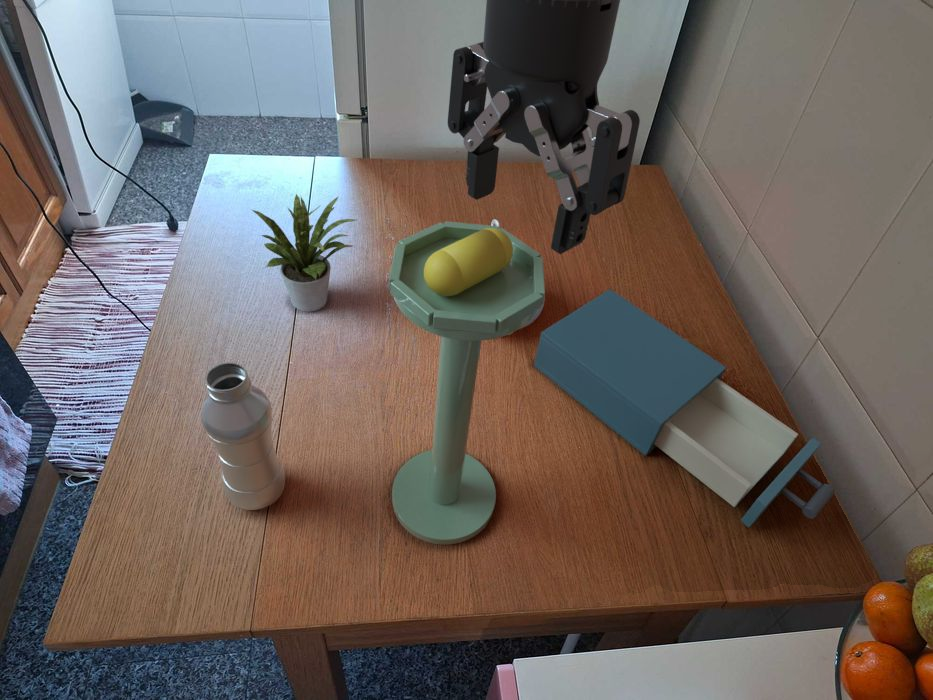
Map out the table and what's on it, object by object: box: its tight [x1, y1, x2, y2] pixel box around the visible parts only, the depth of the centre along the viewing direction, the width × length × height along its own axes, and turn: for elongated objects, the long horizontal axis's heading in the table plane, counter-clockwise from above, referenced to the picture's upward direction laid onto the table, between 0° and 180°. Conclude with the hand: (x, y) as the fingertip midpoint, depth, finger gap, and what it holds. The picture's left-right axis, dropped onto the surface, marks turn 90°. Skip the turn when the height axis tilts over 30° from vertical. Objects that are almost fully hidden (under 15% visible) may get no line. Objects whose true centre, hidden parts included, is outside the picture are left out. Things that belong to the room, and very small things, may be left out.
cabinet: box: [533, 288, 727, 457], centre depth 88 cm, size 20×15×7 cm
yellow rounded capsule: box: [424, 228, 513, 296], centre depth 50 cm, size 8×4×4 cm, turn 132°
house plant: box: [251, 193, 357, 313], centre depth 91 cm, size 14×14×16 cm
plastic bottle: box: [200, 362, 286, 511], centre depth 67 cm, size 6×7×20 cm
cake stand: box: [388, 220, 546, 546], centre depth 63 cm, size 12×12×34 cm
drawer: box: [654, 378, 836, 528], centre depth 80 cm, size 23×14×5 cm, turn 42°
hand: (520, 220), depth 47 cm, fingers open, 8 cm apart
